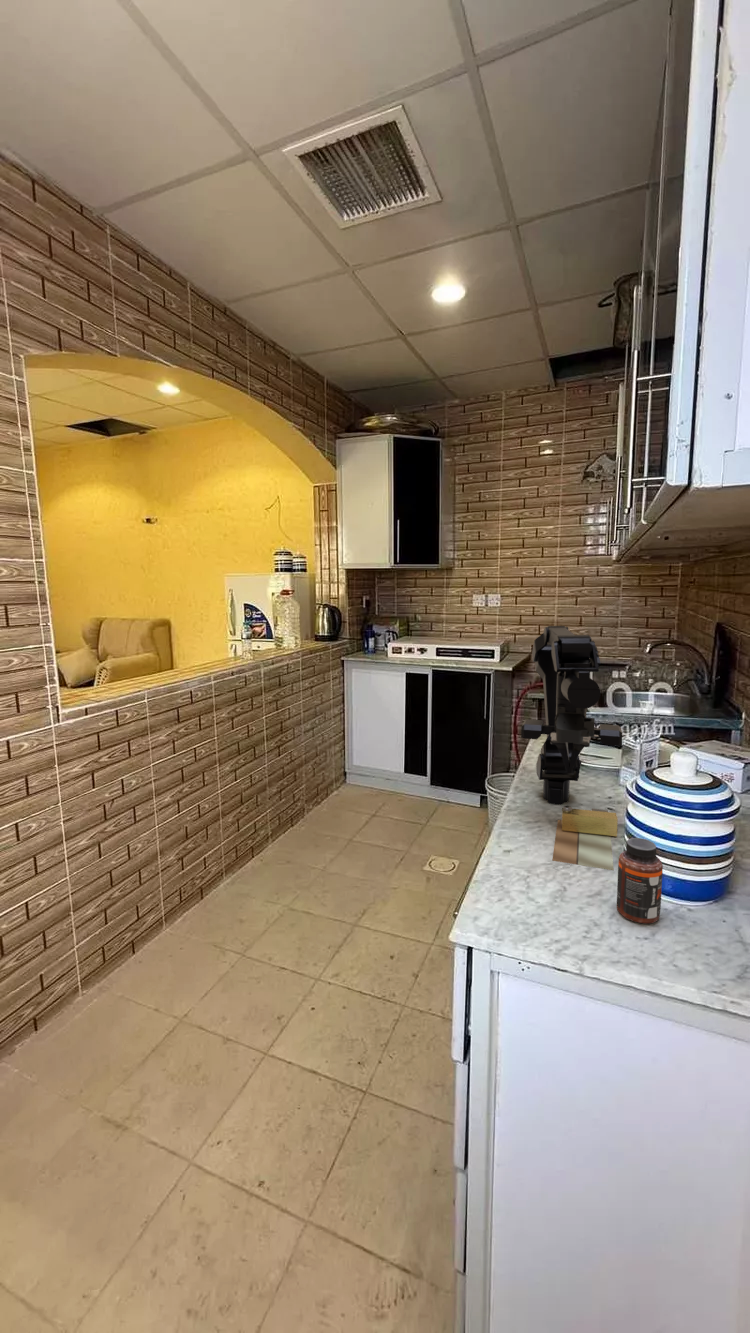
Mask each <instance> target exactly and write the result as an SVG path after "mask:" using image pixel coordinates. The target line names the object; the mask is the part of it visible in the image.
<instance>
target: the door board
mask: <svg viewBox="0 0 750 1333" xmlns="http://www.w3.org/2000/svg"><path fill="white" fill-rule="evenodd" d="M612 847H613V846H612V836H609V835H600V834H591V833H582V832H573V831H564V830H562V819H557V823H556V830H555V836H554V845H553V852H552V862H558V863H564V864H569V865H570V864H571V865H577V866H582V867H583V866H584V867H589V868H595V869H600V870H609V871H614V860H613V859H614V858H613V857H614V856H613V848H612Z"/></svg>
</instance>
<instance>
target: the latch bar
mask: <svg viewBox="0 0 750 1333" xmlns="http://www.w3.org/2000/svg"><path fill="white" fill-rule="evenodd" d="M561 808H562V809H561V820H562V830H564V831H573V832H582V833H591V834H600V835H609V836H611V837H618V821H619V820H618V819H619V818H618V815H617V812H610V811H608V812H601V811H592V809H591V810H589V809H580V808H579V809H577V808H573V807H572V806H570V805H564V806H563V807H561Z"/></svg>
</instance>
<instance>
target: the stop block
mask: <svg viewBox="0 0 750 1333" xmlns="http://www.w3.org/2000/svg"><path fill="white" fill-rule="evenodd" d="M591 811H601V812H609V810H606V809H597V808H591Z"/></svg>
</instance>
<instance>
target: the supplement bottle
mask: <svg viewBox="0 0 750 1333" xmlns="http://www.w3.org/2000/svg"><path fill="white" fill-rule="evenodd" d="M625 845H626V846H625V850H623V851H622V852H621V853H619V857H618V865H617V867H618V868H617V888H616V908H617V911H618V912H619V914H620V915H621V916H623V917H624V918H626V919H627V920H629V921H632V922H635V923H639V924H653V923H656V922H657V921H659V919H660V916H661V907H662V887H663V868H664V867H663V863H662V860H661V859H660V858H659V857H658V856H657V853H658V852H657V845H656V844H655V842H653V841H651V840H648V839H645V838H641V837H632V838H629V839H627V840H626V844H625Z"/></svg>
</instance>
